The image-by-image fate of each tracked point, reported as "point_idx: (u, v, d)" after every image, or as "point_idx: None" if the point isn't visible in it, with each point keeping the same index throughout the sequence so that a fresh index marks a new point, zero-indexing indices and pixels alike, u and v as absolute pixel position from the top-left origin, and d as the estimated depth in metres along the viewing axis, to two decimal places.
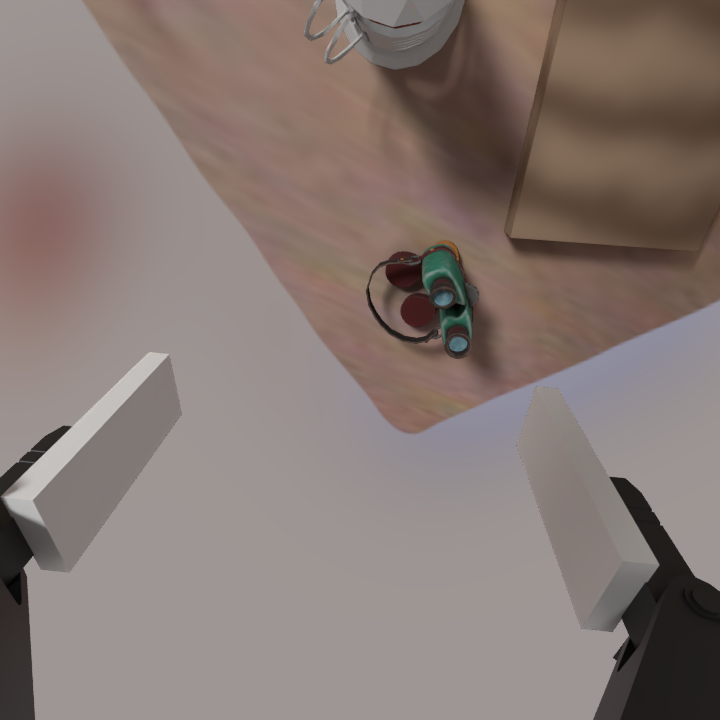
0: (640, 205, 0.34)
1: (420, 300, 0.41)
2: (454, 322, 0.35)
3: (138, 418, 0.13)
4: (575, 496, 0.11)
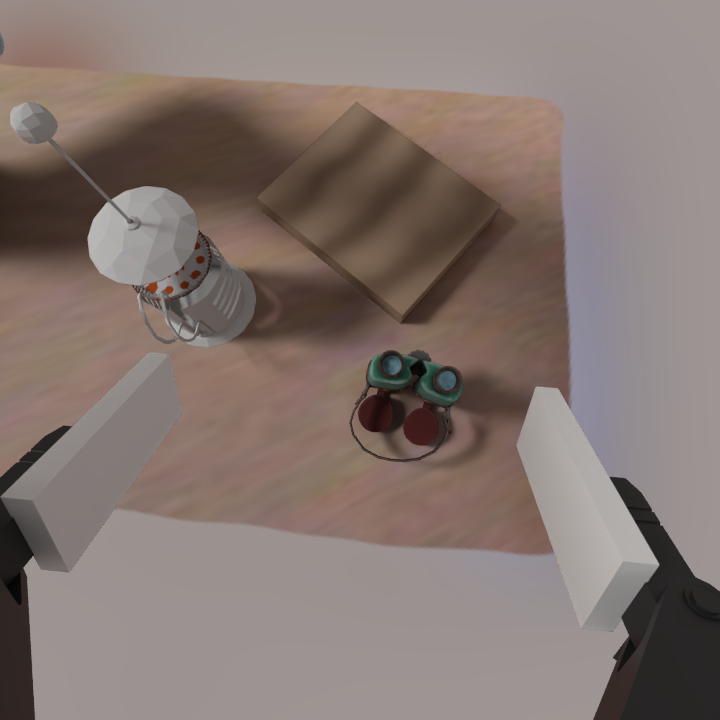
0: (438, 226, 0.43)
1: (412, 417, 0.40)
2: (429, 377, 0.34)
3: (138, 418, 0.13)
4: (575, 496, 0.11)
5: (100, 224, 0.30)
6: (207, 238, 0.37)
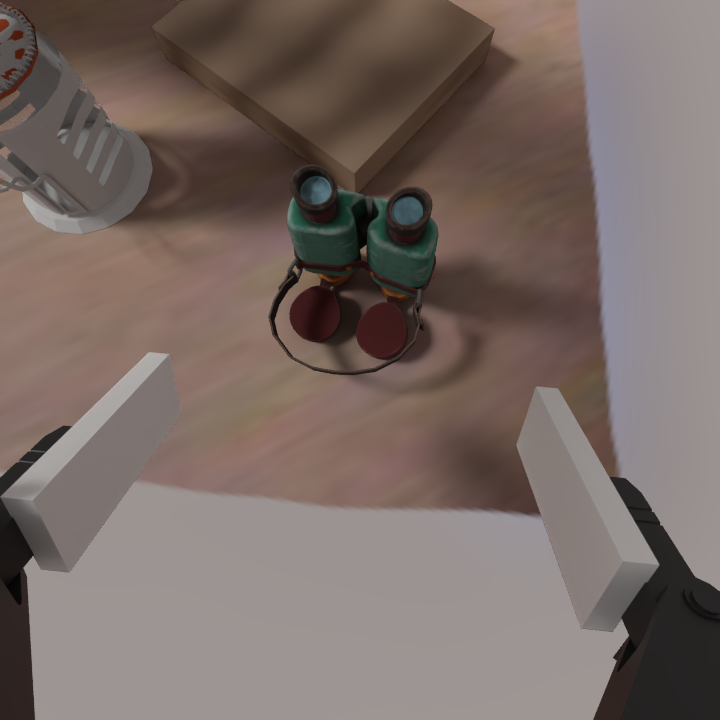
0: (406, 57, 0.30)
1: (368, 317, 0.27)
2: (382, 221, 0.21)
3: (138, 418, 0.13)
4: (575, 496, 0.11)
5: None
6: (48, 40, 0.25)
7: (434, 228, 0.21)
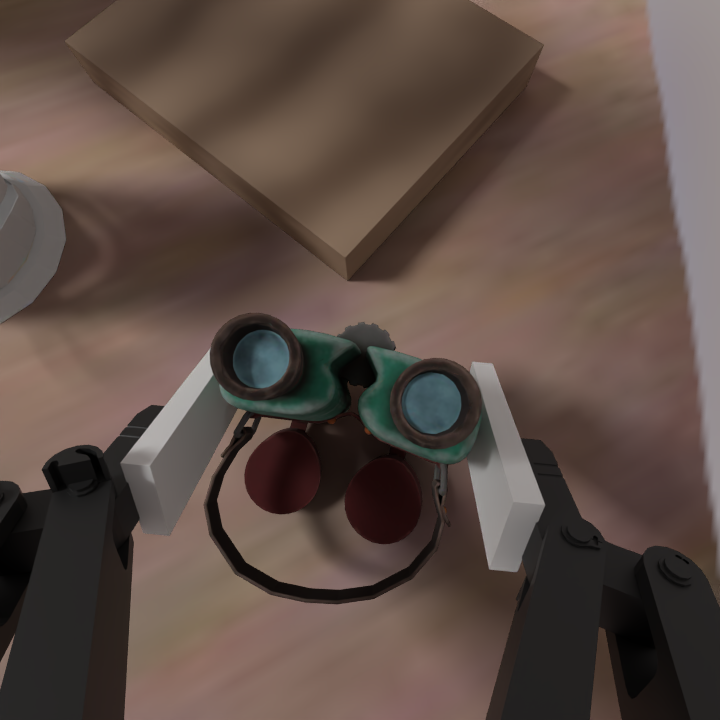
0: (420, 85, 0.21)
1: (363, 479, 0.18)
2: (384, 393, 0.12)
3: (215, 399, 0.14)
4: (490, 454, 0.12)
5: None
6: None
7: None
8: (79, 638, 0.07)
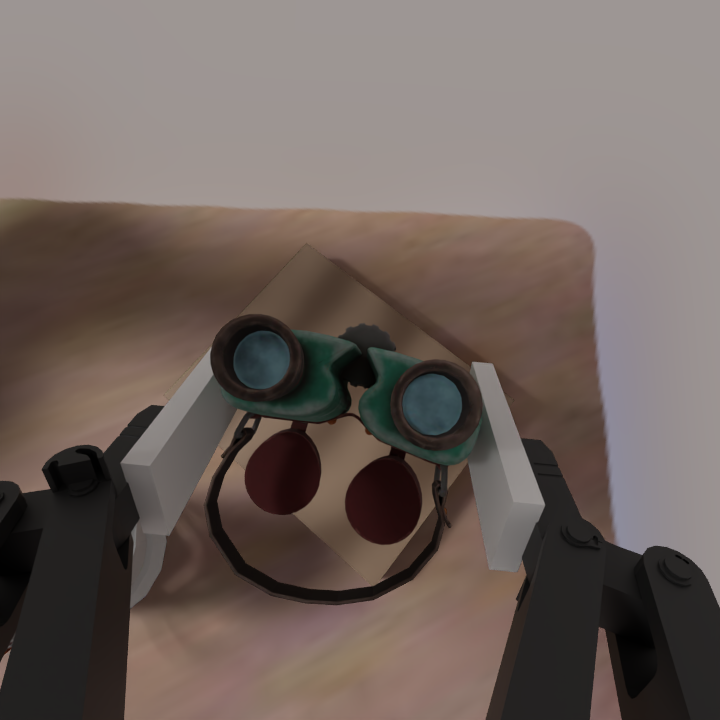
0: None
1: (363, 480, 0.18)
2: (385, 394, 0.12)
3: (215, 399, 0.14)
4: (490, 454, 0.12)
5: None
6: None
7: None
8: (79, 639, 0.07)
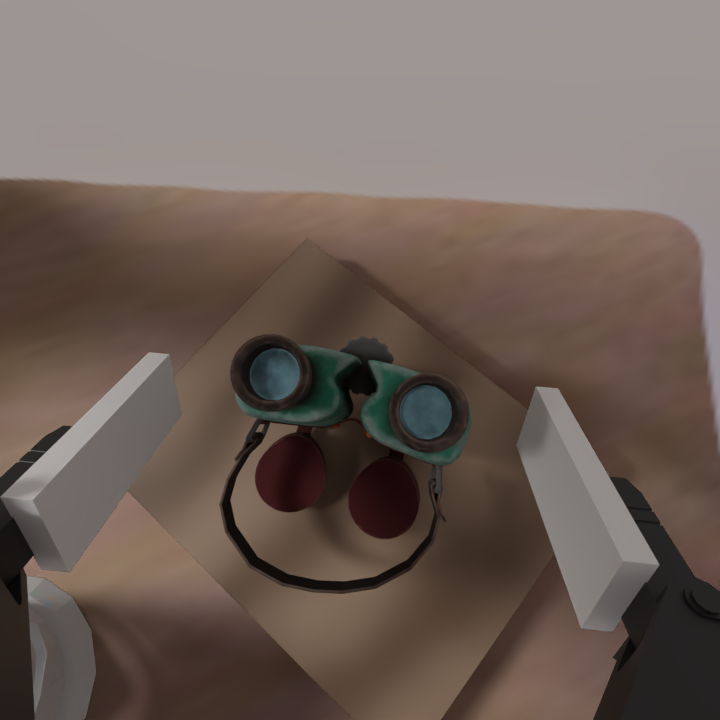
0: (478, 527, 0.20)
1: (365, 479, 0.19)
2: (384, 402, 0.13)
3: (138, 418, 0.13)
4: (575, 496, 0.11)
5: None
6: None
7: None
8: None
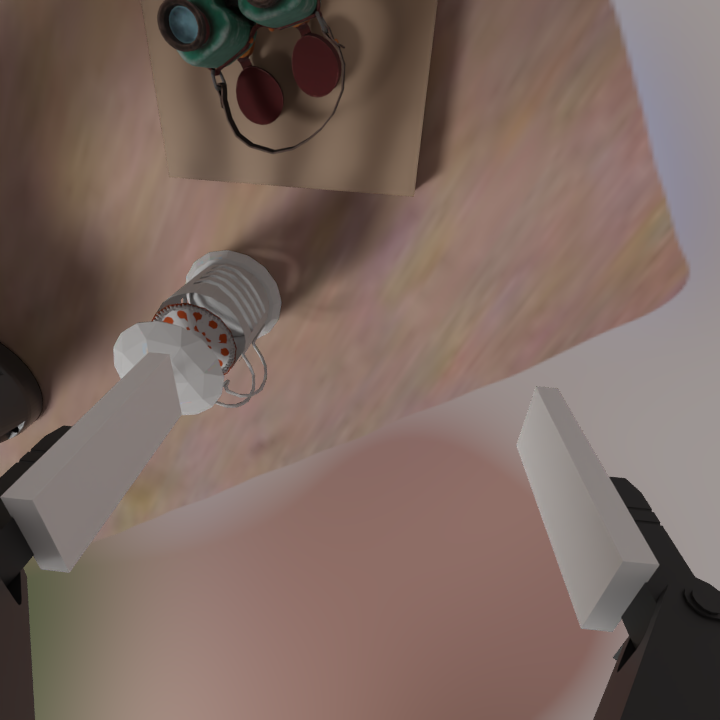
0: (382, 40, 0.28)
1: (297, 64, 0.28)
2: None
3: (138, 418, 0.13)
4: (575, 496, 0.11)
5: None
6: (192, 290, 0.34)
7: None
8: None
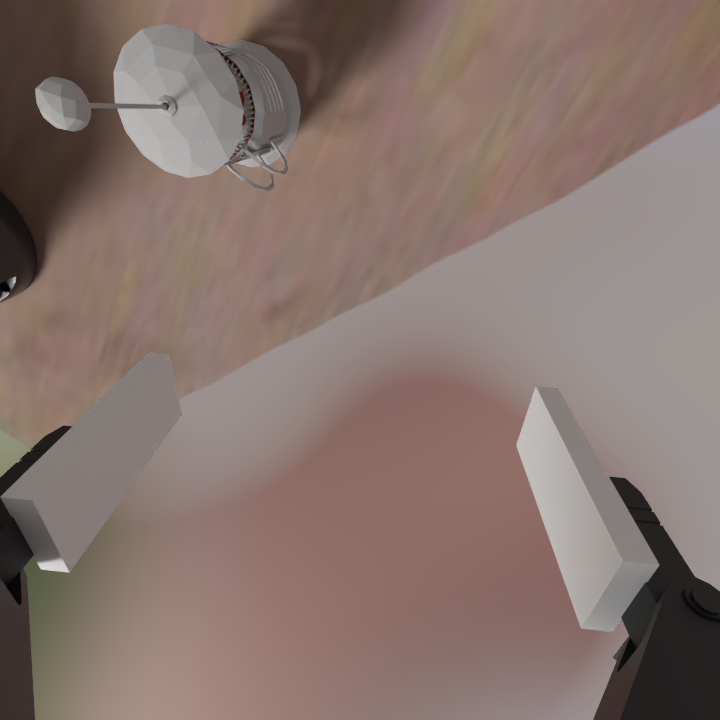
0: None
1: None
2: None
3: (138, 418, 0.13)
4: (575, 496, 0.11)
5: (141, 132, 0.26)
6: None
7: None
8: None
